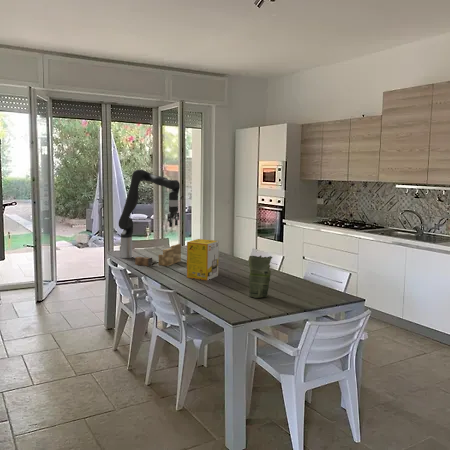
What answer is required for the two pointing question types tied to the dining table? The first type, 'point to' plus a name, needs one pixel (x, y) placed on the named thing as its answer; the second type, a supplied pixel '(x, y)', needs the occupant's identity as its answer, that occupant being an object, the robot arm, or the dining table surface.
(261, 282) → the green vase
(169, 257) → the light wood notched block
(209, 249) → the packaging box
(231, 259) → the dining table surface
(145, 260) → the brown rectangular block
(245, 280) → the dining table surface
